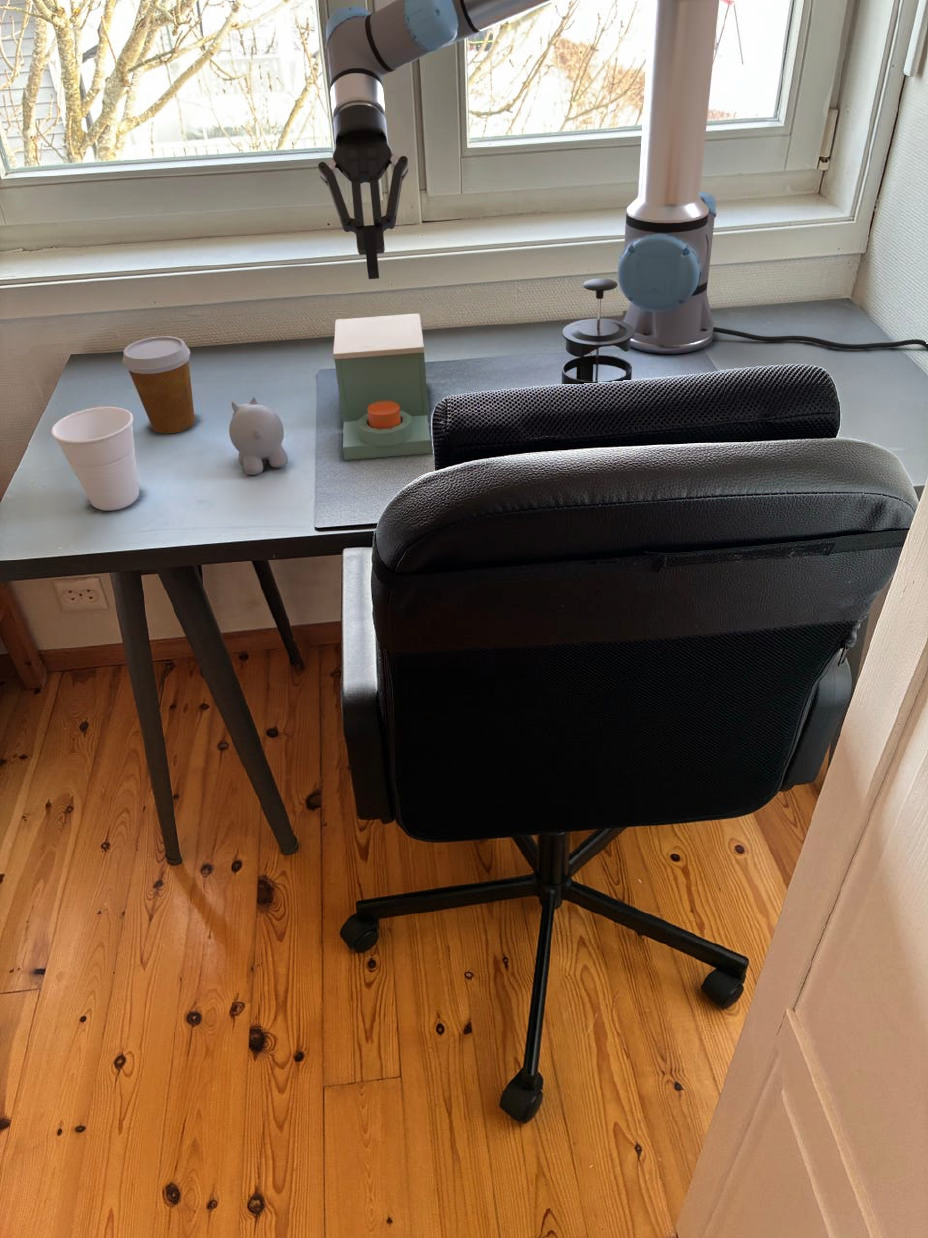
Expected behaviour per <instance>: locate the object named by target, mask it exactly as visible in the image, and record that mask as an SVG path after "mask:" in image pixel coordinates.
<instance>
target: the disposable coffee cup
mask: <svg viewBox="0 0 928 1238" xmlns="http://www.w3.org/2000/svg"><path fill="white" fill-rule="evenodd" d="M190 356H191V350H190V348H189V347H188V346H187V345H186V342H185V341H184V340H183V338H180V337H175V336H169V335H167V336H165V335H163V336H153V337H146V338H143V339H140V340H136V341H134V342H132V343H130V344H128V345H127V346H126V347H125V348H124V349H123V358H122V360H121V362H122V364H123V366H124V367H125V368H126V370H127V371H128V373H129V374H130V378H131V380H132V382H133V385H134V387H135V389H136V392H137V394H138V396H139V399H140V401H141V404H142V406H143V409H144V411H145V413H146V416H147V418H148V421H149V424H150V425H151V428H152V430H153V431H154V432H156V433H159V434H176V433H180V432H183V431H186V430H188V429H190V428H192V427H193V426H194V424H195V423H196V419H195V418H196V417H195V410H194V409H195V408H194V400H193V388H192V381H191V370H190V362H189V361H190Z"/></svg>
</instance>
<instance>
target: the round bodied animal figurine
mask: <svg viewBox="0 0 928 1238" xmlns="http://www.w3.org/2000/svg"><path fill="white" fill-rule="evenodd" d="M231 409H232V411H233V413H232V417H231V420H230V423H229V426H228V427H229V428H228V434H229V439H230V442H231V443H232V445H233V447H234V448H235V449H236V451H237V452H238V462H239V465H240V466H242V468H243V471H244V473H245V474H247V475H252V476H255V475H259V474H261V473H262V472H263V471H264V464H267V461H268V462H269V465H270V466H271V467H272V468H283V467H285V466H286V465H287V464H288V462H289V458H288V454H287V452H286V450H285V448H284V447H283V445H282V443H283V441H284V438H285V437H284V435H285V432H284V431H285V430H284V429H285V428H284V425H283V422H282V420H281V418H280V416H279V415H278V414H277V413H276V411H274V410H273V409H271V408H270V407H268V406H266V405H263V404H258V400H257V397H253V398H252V399H251V400H250V402H249V403H248V402H247V403H240V404H238V403H237V402H235V401H231Z"/></svg>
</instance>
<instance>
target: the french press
mask: <svg viewBox="0 0 928 1238" xmlns="http://www.w3.org/2000/svg"><path fill="white" fill-rule="evenodd" d="M582 287H583V289H585V290H588V291H593V292H595V299H597V315H596V316H597V318H587V319H586V318H585V319H579V320H576V321H573V322H570V323H569V324H567V325H565V326H564V328H563V329H562V337H563V339H565V350H566V352H567V353H568V354H570V355H571V356H573V358H570V359H569V360H567V361H565V362H564V363H563V365H562V366H561V385H562V384H584V383H598V382H599V365H600V366H607V367H608V366H610V367H613V368H617V369H621V370H622V371H624V372H625V375H624V376H621V377H619V378H616V379H611V380H605V381H604V380H603V381H602V382H612V381H623V380H631V381H632V375H633V366H632V365H631V363H630V362H629V361H627V360H626V359H623V358H622V357H619V356H614V355H607V354H600V348H604V347H605V348H606V347H616V348H619V349H620V350H622V351H623V352H625V353H627V352H629V351H630V349H631V346H630V339H631V338H633V336H634V329H633V327H632V326H630V325H629V324H627V323H625V322H623V320H622V321H621V320H617V319H612V318H601V311H602V309H601V307H602V299H604V294H605V291H606V292H607V291H612V290H614V289H616V288H617V287H618V282H617V281H616V280H613V279H610V278H602V277H601V278H592V279H588V280H585V282H583V283H582ZM594 351H595V354H593V353H592V352H594ZM594 365H595V367H594ZM594 368H595V369H594ZM573 369H576V374H575V375H576V377H575V378H574V377H572V376H570V375H569V374H567V373H568V372H569V371H571V370H573ZM594 370H595V372H594Z"/></svg>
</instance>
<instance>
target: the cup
mask: <svg viewBox="0 0 928 1238" xmlns="http://www.w3.org/2000/svg"><path fill="white" fill-rule="evenodd" d="M133 422H134V415H133V414H132V412H131V411H129V410H128V409H125V408H122V407H117V406H98V407H97V406H96V407H91V408H87V409H82V410H78V411H75V412H73V413H70V414H68V415H65V416H64V417H62V418H60V419H59V420H58V421H56V423H54V424H53V426H52V427H51V430H50V434H51V436H52V438H53V439H54V440H56V442H57V444H58V446H59V447H60V449H61V451H62V453H63V455H64V456H65V458H66V460H67V462H68V464H69V465H70V467H71V470H72V471H73V473H74V475H75V477H76V478H77V480H78V481H79V484H80V485H81V487H82V489H83V491H84V493H85V495H86V497H87V498H88V500H89V502H90V504H91V505H92V507H94V508H96V509H98V510H100V511H110V512H111V511H117V510H122V509H124V508H128V507H129V506H131V505H133V504H134V503H135V502H136V501H137V500H138V498H139V496H140V487H139V485H140V484H139V477H138V467H137V460H136V450H135V439H134V427H133Z"/></svg>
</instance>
